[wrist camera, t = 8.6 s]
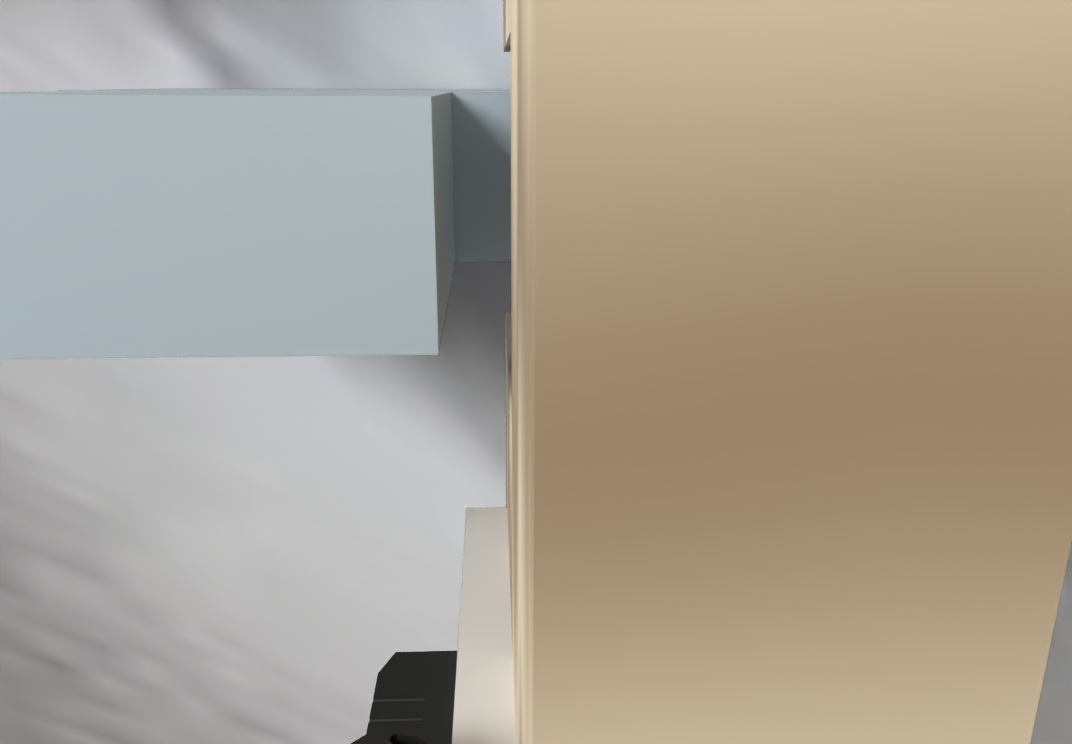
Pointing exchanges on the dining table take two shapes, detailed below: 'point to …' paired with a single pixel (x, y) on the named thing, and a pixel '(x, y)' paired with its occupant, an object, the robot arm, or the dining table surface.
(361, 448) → the dining table surface
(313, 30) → the dining table surface
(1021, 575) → the maple board
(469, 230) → the slate board
